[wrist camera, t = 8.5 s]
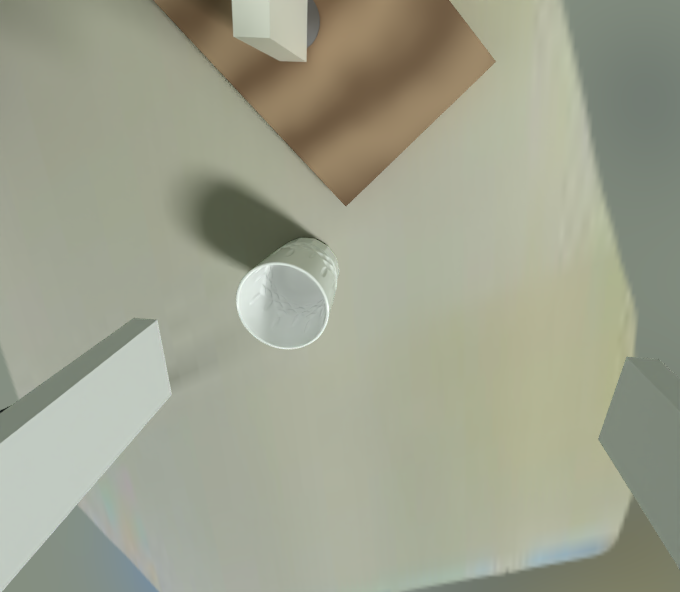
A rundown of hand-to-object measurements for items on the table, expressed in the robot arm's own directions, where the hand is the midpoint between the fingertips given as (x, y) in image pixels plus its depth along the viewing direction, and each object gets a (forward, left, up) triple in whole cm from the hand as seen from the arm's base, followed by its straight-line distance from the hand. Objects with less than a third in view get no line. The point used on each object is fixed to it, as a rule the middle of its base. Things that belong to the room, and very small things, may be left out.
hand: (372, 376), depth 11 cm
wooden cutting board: (-16, +5, -29) cm, 33 cm away
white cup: (-1, -11, -29) cm, 31 cm away
